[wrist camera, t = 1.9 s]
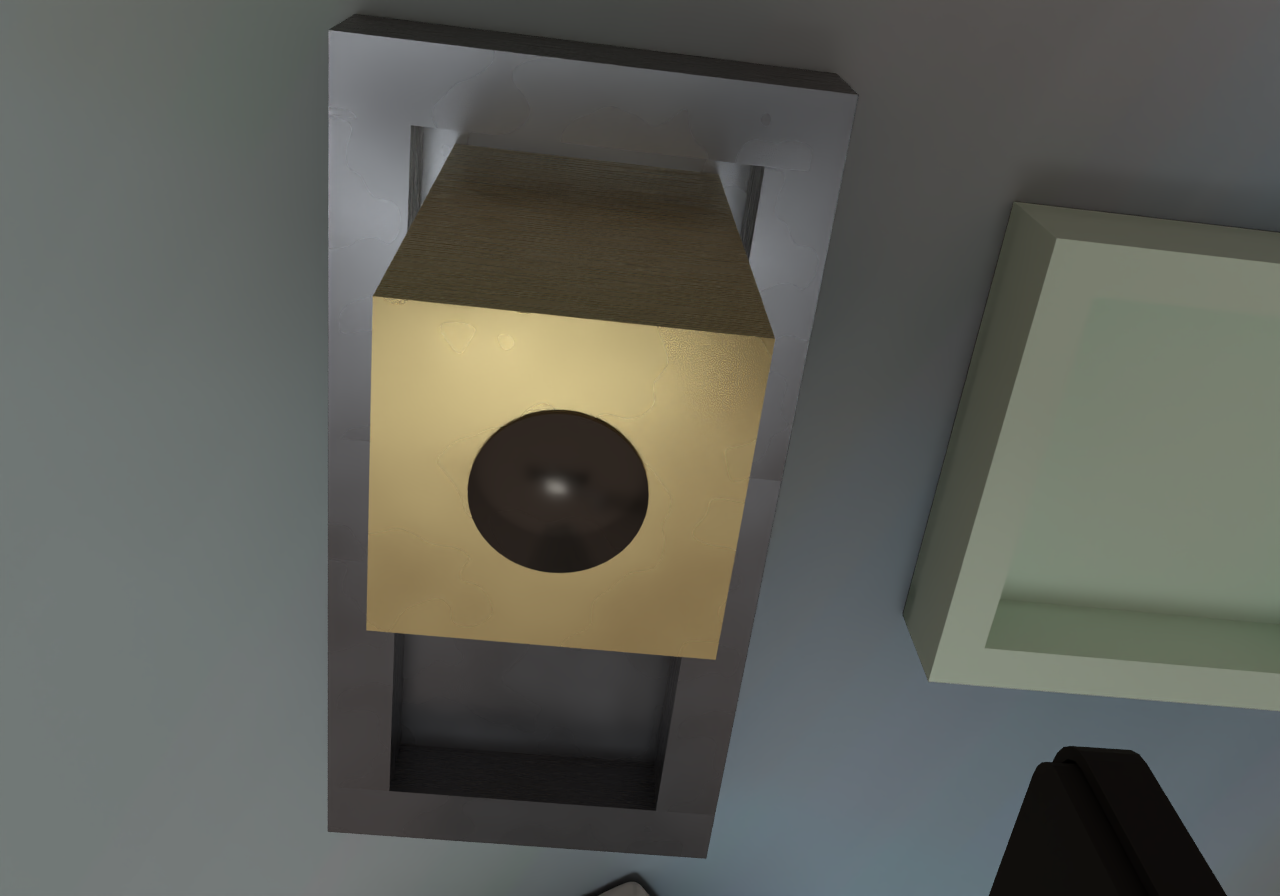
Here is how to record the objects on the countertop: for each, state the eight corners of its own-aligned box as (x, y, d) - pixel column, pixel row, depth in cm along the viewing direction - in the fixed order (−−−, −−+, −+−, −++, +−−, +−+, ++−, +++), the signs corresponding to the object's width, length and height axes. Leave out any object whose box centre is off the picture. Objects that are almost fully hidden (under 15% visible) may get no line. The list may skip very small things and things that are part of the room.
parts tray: (1485, 256, 24) (1574, 297, 22) (1302, 650, 28) (1361, 717, 26) (1013, 201, 23) (1056, 238, 21) (902, 615, 28) (928, 681, 25)
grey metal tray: (836, 73, 22) (858, 94, 20) (699, 793, 30) (706, 858, 28) (354, 14, 21) (328, 30, 19) (346, 766, 29) (327, 831, 27)
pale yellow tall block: (718, 174, 22) (776, 342, 15) (682, 410, 24) (716, 664, 17) (455, 144, 22) (371, 298, 14) (442, 386, 24) (365, 634, 16)
